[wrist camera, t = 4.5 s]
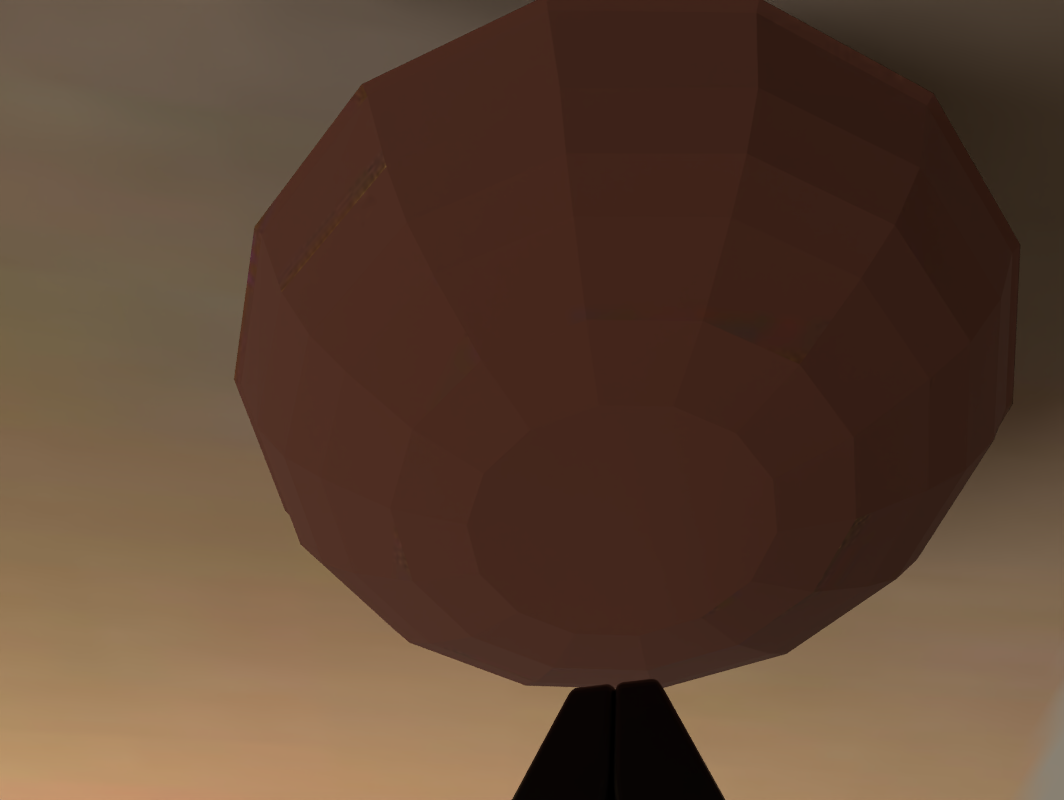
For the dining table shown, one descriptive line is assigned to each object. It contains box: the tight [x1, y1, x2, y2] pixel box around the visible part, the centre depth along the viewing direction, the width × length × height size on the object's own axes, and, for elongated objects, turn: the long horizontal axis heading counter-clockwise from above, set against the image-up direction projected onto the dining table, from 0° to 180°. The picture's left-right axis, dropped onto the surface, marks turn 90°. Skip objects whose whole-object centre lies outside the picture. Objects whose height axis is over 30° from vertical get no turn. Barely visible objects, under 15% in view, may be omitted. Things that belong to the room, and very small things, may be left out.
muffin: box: [234, 0, 1020, 688], centre depth 16 cm, size 12×11×10 cm
